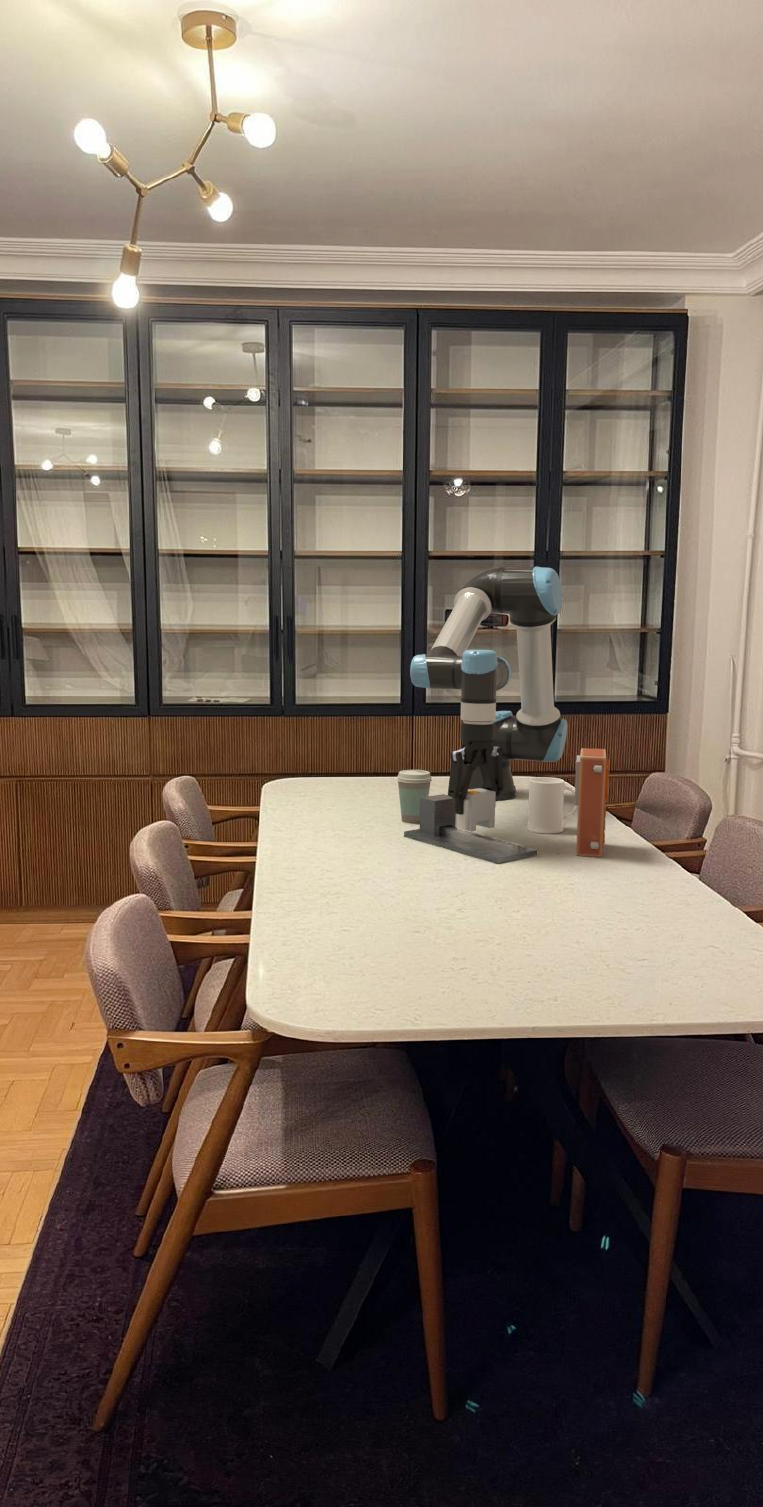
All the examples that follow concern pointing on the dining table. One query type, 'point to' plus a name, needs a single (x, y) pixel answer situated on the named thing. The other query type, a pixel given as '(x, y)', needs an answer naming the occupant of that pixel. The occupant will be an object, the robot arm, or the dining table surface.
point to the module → (480, 808)
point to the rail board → (471, 847)
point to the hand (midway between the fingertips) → (475, 826)
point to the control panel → (591, 800)
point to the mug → (547, 805)
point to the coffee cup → (412, 793)
